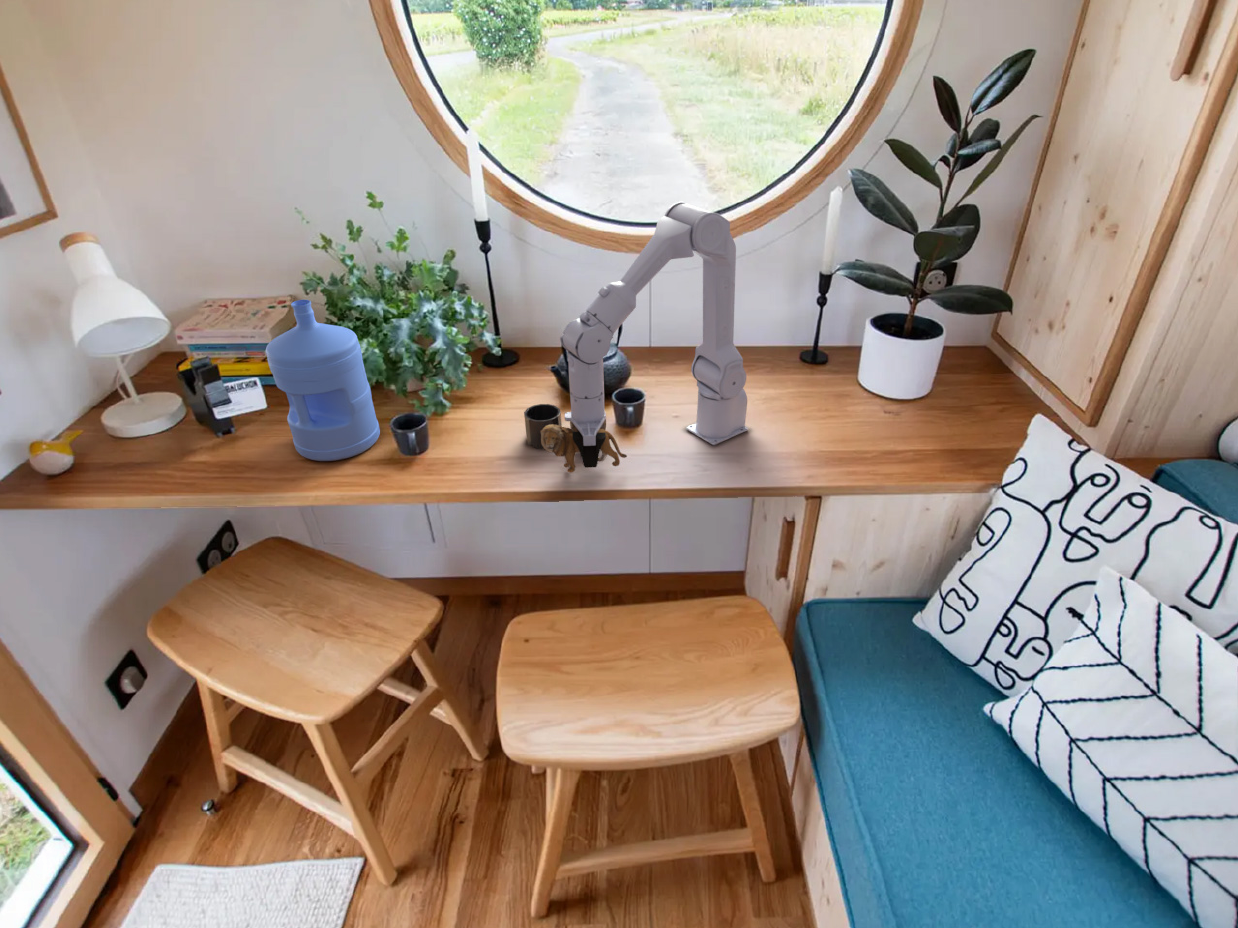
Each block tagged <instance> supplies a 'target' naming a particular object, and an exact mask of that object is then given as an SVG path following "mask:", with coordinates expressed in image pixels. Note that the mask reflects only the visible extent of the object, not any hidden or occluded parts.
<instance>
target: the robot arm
mask: <svg viewBox="0 0 1238 928" xmlns="http://www.w3.org/2000/svg"><path fill="white" fill-rule="evenodd" d="M736 245H737V244H736V242H735V240H734V237H733V236H732V233H731V222H730V221H729V220H728V219H727V218H725V217H724V216H722V215H721V214H720V213H717V212H714V211H709V210H706V209H703V208H700V207H697V206H695V205H692V204H689V203H688V202H686V201H678V202H675V203H673V204H672V205H670V206H669V207H668V208H667V210H666V211H665V212H664V215H663V216H661V217H660V218H659V219H658V220H657V222H656V227H655V230H654V233H653V235H652V237H651V238H650V239H649V240H648V241H647V243H646V245H644V247H643V249H642V250H641V252H640V253H639V254H638V256H637V257H636V258H635V260H634V261H633V262H632V264H631V265H630V267H629V268H628V269H627V271H626V272H625V274H624V275H623V276H622V278H621V279H620V280H619V281H613V282H608V283H607V285H606V286H602V287H601V288H600V289H599V290H598V292H597V293H598V295H597V297H596V298H595V299H594V300H593V301H592V303H591V304H590V305H589V306H588V308H587V309H586V310H585V311H584V312H582V313H581V314H580V315H579V318H575V319H573V320H571V321H570V322H568V324H567V325H566V326H565V328H564V330H563V332H562V333H563V334H562V335H561V336H560V337H559V340H560V343H561V346H562V347H563V348H564V350H566V352H567V362H568V363H567V364H568V384H569V397H570V411H567V412H565V413H564V421H565V422H570V421H571V422H572V423H573V424H574V425H575V426H576V428H577V431H578V432H572V437H573V441H574V443H575V444H576V445H577V447H578V449H579V451H580V453H579V454H580V457H581V462H582V464H583V467H584V468H585V469H590V468H591V469H592V468H597V466H598V463H599V462H598V458H600V457H599V456H600V452H601V450H600V449H601V446H602V444H603V443H604V441H605V439H606V433H605V432H603V433H597V432H598V431H599V429H600V427H601V426H602V424H603V423H604V421H605V419H606V420H607V412H606V410H605V409H606V407H605V378H604V377H605V376H604V374H605V373H604V357H605V356H607V355H608V354H609V351H610V349H611V341H612V340H613V338H614V334H615V333H616V332H617V330H618V329H619V328H620V327H621V326H622V324H624V322H625V321H626V320H627V319H628V317H629V316H630V315H631V314H632V313H633V311H634V310H635V309H636V307H637V295H638V294H639V293H640V292H641V291H642V290H643V289H644V288H645V287H646V286H647V285H648V284H649V283H650V282H651V281H652V279H654V278H655V277H656V276H657V274H658V273H660V272H661V270H662V269H663V268H664V267H665V266H666V265H667V264H668V263H669V262H670V261H671V260H676V259H677V260H679V259H687V258H693V257H694V256H695V254H696V255H698V256H699V257H700V258H701V259H702V343H700V344H699V345H697V346H696V347H695V348H694V349H695V351H694V352H695V353H694V354H695V355H694V359H693V361H692V363H691V368H690V372H691V375H692V377H693V379H695V380H696V387H697V401H696V402H697V403H696V404H697V405H696V418H695V419H696V421H695V423H693V424H690V425H687V426H686V430H687V431H689V432H691V433H692V434H694V435H695V436H696V437H698V438H700V439H702V440H704V441H705V442H707V443H709V444H710V445H713V446H717V445H718V444H720V443H722V442H724V441H727V440H729V439H731V438H733V437H736V436H738V435H741V434H743V433H745V432H747V431H748V430H749V427H747V426H746V419H747V410H748V396H747V392H746V391H745V386H746V382H747V372H746V370H745V368H744V358H743V357H742V355H741V353H740V351H739V350H738V349H737V346H736V345H735V343H734V334H735V333H734V332H735V331H734V329H735V328H734V327H735V302H736V301H735V300H736V299H735V298H736V263H737V262H736V261H737V246H736ZM694 253H695V254H694Z"/></svg>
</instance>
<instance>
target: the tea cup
mask: <svg viewBox="0 0 1238 928" xmlns="http://www.w3.org/2000/svg"><path fill="white" fill-rule="evenodd" d="M561 415H562V414H561V408H560V407H558V406H556V405H554V404H550V403H538V404H534V405H531V406H529V407H527V408H526V409H525V410H524V411H523V416H524V417H523V418H524V427H525V437H526V442H527V444H528V445H529V446H530V447H532V448H535V449H538V450H539V449H542V450H545V449H544V447H543V446H542V444H541V432H540V431H541V430H543V428H544V427H545V426H546V425H551V424H552V425H553V424H554V425H561V427H563V426H562V416H561Z"/></svg>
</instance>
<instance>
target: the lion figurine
mask: <svg viewBox="0 0 1238 928" xmlns="http://www.w3.org/2000/svg"><path fill="white" fill-rule="evenodd" d="M561 426H562V424H561V425H554V424H553V425H552V424H551V425H546V426H545V427H544V428H543V430H541V431H540V432H541V444H542V446H543V447H544V449H543V450H546V451H547V452H550V453H553V454H554V455H555V456H556V457H564V458H565V461H566V462H565V463H564V464H563V467H564V468H567V473H570V474H571V473H574V472H575V471H576V464H575V457H576V454H580V451H579V449H578V447H577V445H576V444H575V443H574V441H573V437H572V432H575V431H573V430H572V429H571V427H566V426H562V427H561ZM603 432H605V433H606V439H605V441H604V443H603V444H602V446H601V449H600V452H601V455H600V457H598V462H597V463H601V462H604V461H605V459H606V458H607V456H609V457H611V458H613V459H614V461H612V463H611V465H612V467H618V466H620V464H621V462H620V461H621V460H620V457H621V458H623V459H624V458H627V457H628V455H627V454H625V453H622V452H621V450H620V448H619V445H618V443H617V440H616V439H615V437H614V435H612V433H611V432H609V431H608V430H606V429H605V430H604V429H599V431H598V432H597V433H603ZM610 441H611V443H612V445H613V447H614V449H615V450H614V449H613V447H612V446H611V443H610Z"/></svg>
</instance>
